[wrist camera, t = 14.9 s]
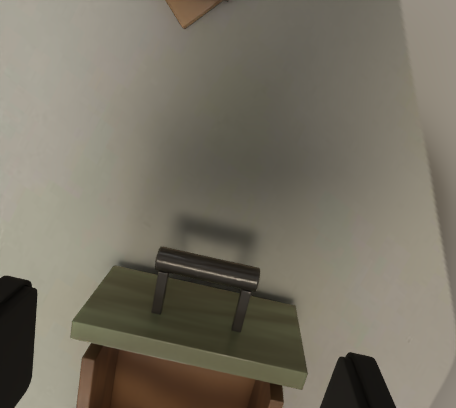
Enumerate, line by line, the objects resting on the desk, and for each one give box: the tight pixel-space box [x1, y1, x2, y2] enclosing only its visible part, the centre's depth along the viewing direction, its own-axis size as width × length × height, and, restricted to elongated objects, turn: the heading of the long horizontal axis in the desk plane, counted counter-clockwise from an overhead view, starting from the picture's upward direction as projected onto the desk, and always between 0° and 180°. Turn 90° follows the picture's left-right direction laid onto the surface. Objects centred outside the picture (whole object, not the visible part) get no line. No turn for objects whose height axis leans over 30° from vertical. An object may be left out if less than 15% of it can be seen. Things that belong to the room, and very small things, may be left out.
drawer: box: [70, 247, 308, 408], centre depth 26 cm, size 18×13×7 cm
